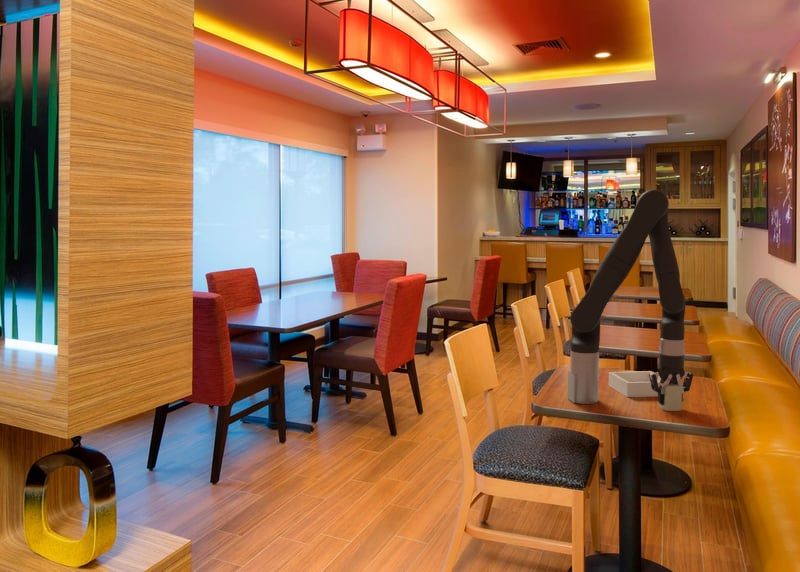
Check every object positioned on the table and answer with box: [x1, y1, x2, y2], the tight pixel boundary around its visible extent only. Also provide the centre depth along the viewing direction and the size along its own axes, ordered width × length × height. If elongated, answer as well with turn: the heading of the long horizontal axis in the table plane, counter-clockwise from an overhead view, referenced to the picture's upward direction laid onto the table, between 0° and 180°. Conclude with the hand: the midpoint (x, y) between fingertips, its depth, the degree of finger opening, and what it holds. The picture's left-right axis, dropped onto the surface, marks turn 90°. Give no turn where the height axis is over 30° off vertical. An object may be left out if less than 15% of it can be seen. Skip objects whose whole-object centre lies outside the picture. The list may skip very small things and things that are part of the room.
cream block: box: [658, 384, 683, 412], centre depth 198 cm, size 5×5×8 cm
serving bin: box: [608, 370, 661, 398], centre depth 220 cm, size 16×16×5 cm
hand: (670, 404), depth 198 cm, fingers closed on cream block, 5 cm apart
